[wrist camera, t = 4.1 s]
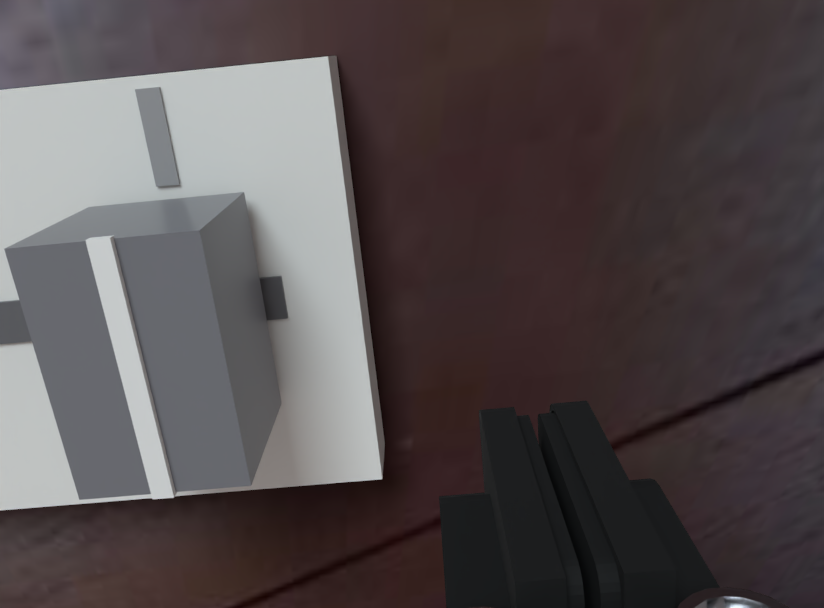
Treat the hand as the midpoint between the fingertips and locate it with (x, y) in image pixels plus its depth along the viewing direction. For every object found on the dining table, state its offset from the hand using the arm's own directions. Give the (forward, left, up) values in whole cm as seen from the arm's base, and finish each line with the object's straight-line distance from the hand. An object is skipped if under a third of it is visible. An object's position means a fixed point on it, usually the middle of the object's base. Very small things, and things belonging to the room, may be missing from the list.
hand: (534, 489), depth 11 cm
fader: (+8, -1, -8) cm, 12 cm away
